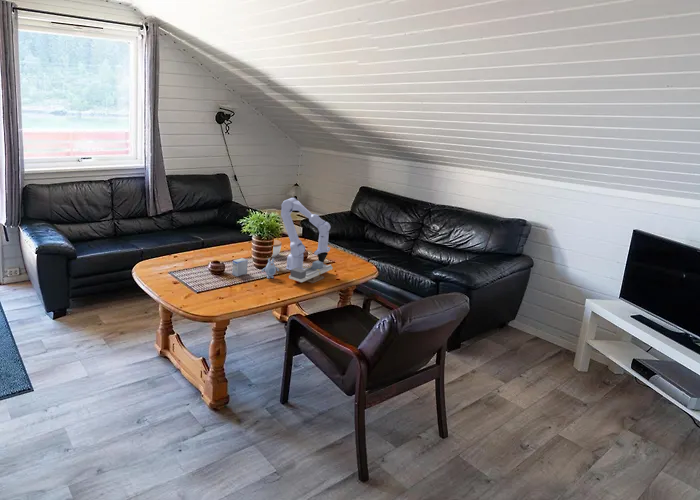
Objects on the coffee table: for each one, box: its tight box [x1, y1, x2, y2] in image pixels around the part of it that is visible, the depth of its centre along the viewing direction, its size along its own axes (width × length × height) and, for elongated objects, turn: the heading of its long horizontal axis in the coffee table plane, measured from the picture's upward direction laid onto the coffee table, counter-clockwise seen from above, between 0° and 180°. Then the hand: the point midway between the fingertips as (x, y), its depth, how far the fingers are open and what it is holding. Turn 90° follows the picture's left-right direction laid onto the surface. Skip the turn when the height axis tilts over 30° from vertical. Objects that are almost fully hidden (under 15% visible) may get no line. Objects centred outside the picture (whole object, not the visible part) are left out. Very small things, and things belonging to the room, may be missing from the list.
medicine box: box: [231, 257, 249, 277], centre depth 296 cm, size 8×4×9 cm, turn 146°
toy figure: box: [261, 257, 280, 279], centre depth 295 cm, size 11×6×12 cm, turn 116°
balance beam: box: [288, 263, 333, 284], centre depth 302 cm, size 11×32×8 cm, turn 150°
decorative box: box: [271, 239, 282, 258], centre depth 335 cm, size 13×13×11 cm
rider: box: [311, 259, 324, 270], centre depth 306 cm, size 4×5×4 cm
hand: (321, 263), depth 309 cm, fingers closed
